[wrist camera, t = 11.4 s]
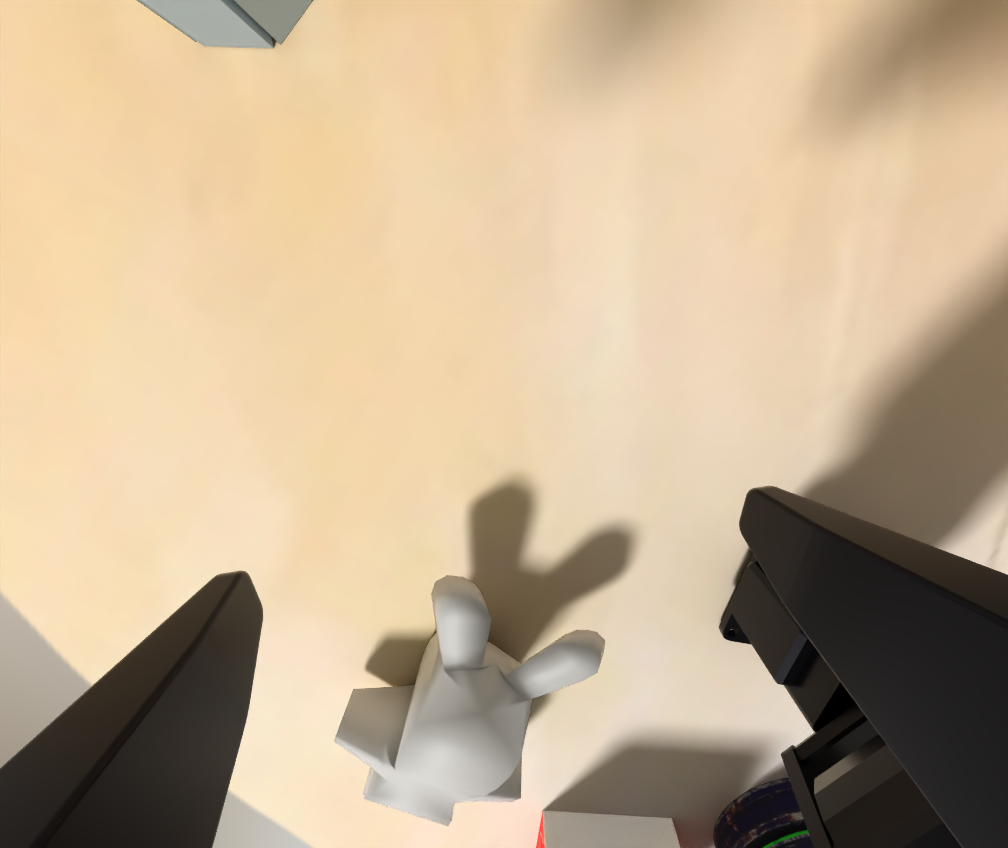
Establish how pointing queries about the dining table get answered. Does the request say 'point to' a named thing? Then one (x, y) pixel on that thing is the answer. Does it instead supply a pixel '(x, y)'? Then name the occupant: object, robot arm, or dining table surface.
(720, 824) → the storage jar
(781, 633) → the robot arm
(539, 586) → the dining table surface
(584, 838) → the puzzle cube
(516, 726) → the grey figurine
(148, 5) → the grey ring with prongs
